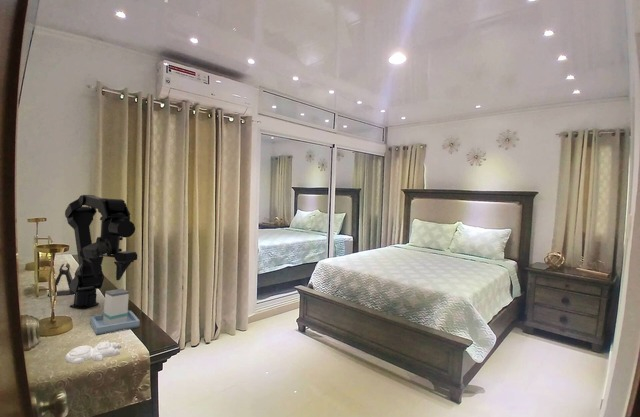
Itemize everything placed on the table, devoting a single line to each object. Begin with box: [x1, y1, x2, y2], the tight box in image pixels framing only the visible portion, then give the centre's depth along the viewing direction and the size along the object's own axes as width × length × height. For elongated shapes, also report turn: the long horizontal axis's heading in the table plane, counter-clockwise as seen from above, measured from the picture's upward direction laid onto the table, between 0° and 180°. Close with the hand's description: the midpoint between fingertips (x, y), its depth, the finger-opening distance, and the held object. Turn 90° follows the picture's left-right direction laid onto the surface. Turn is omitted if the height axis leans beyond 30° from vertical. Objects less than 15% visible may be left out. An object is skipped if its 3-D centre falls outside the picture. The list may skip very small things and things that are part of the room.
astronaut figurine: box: [64, 340, 122, 365], centre depth 83 cm, size 9×12×3 cm
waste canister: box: [102, 288, 130, 325], centre depth 102 cm, size 5×5×10 cm
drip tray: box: [89, 310, 141, 336], centre depth 102 cm, size 12×12×2 cm
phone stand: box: [47, 263, 75, 297], centre depth 129 cm, size 9×6×12 cm, turn 125°
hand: (106, 278), depth 110 cm, fingers open, 9 cm apart
